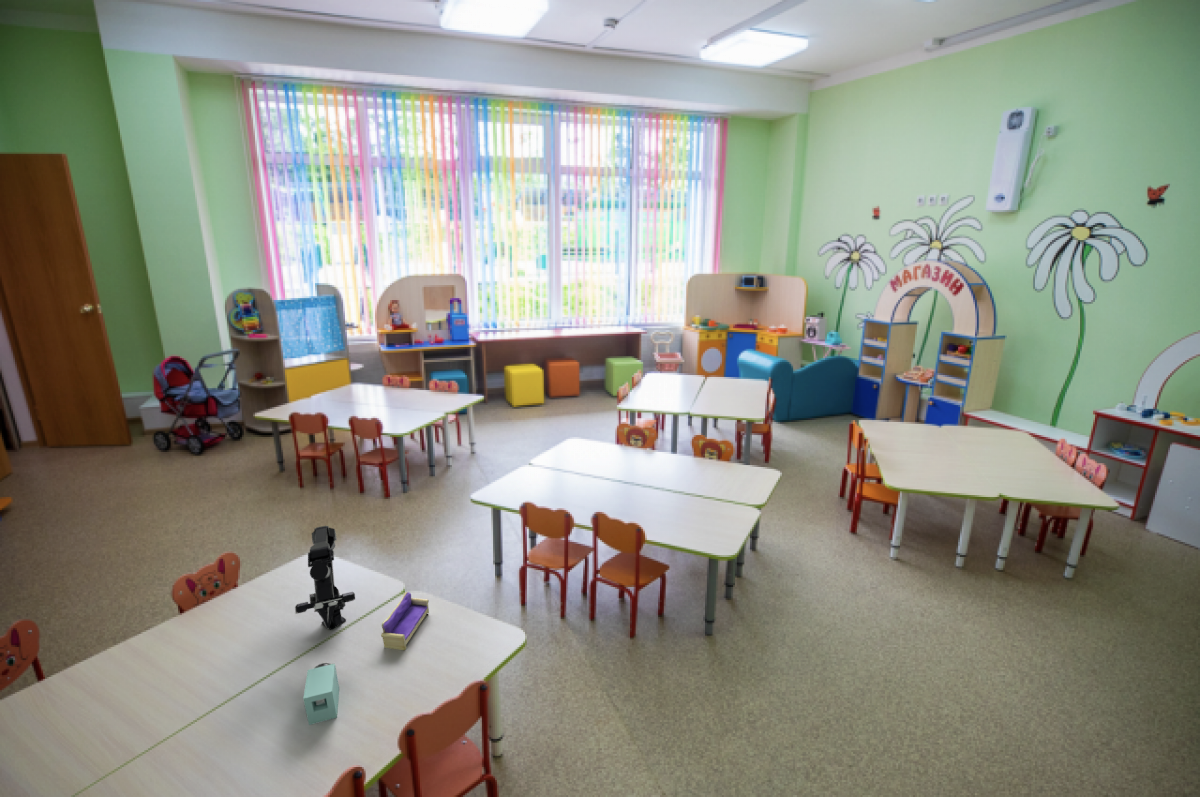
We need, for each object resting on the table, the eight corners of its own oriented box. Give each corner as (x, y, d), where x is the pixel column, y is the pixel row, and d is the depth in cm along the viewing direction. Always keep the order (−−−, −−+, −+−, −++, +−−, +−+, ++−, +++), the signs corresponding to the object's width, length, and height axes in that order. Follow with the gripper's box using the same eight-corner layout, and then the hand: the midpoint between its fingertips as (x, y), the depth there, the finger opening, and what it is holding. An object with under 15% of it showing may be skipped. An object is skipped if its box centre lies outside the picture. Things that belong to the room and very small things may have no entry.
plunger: (313, 683, 188) (310, 666, 186) (336, 677, 191) (333, 660, 188) (309, 713, 177) (305, 695, 175) (334, 706, 179) (330, 689, 177)
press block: (312, 695, 187) (307, 669, 184) (339, 688, 190) (334, 663, 187) (308, 725, 177) (303, 698, 173) (337, 717, 179) (332, 691, 176)
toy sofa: (404, 652, 206) (401, 629, 202) (382, 649, 207) (379, 626, 204) (430, 613, 225) (428, 591, 222) (410, 610, 227) (407, 589, 223)
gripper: (349, 579, 214) (354, 622, 210) (292, 591, 204) (296, 636, 200) (352, 575, 205) (358, 620, 201) (293, 587, 195) (298, 635, 191)
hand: (328, 628), depth 198 cm, fingers closed
